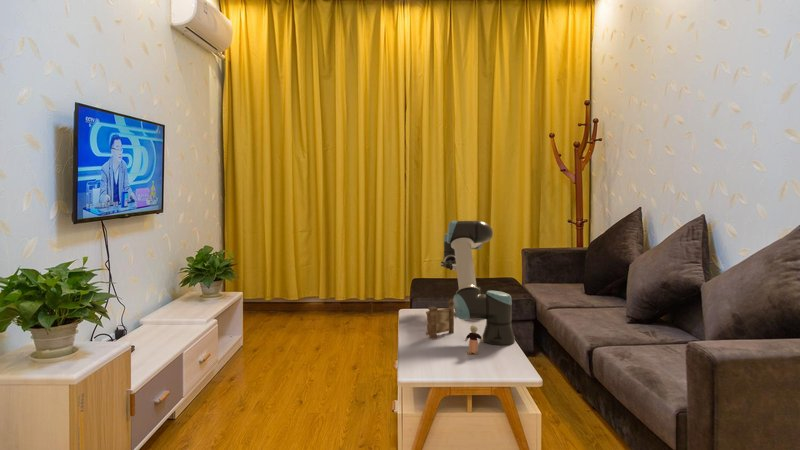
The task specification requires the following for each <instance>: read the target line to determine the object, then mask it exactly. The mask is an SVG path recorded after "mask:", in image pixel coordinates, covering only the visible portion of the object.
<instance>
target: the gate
mask: <svg viewBox="0 0 800 450" xmlns="http://www.w3.org/2000/svg"><path fill="white" fill-rule="evenodd" d="M449 311H450V308H449V307H446V308H445V307H444V308H439V309H438V310H437V311H436V335H437V334H440V333H446V332H449V331H450V329H449ZM425 314H426V332H425V335H426V336H429V310H428V311H427V310H426V311H425Z"/></svg>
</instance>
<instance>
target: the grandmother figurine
mask: <svg viewBox="0 0 800 450" xmlns="http://www.w3.org/2000/svg"><path fill="white" fill-rule="evenodd" d="M469 329H470V332H469V333H468V334H467V335H466V337H465V340H464V341H465V342H467V341H468V340H469V341H468V351H467V355H472V354H473V355H478V347H479V343H478V342H479V341H480V342H481V343H482V342H484V341H483V340H482V336H481V335H480V334H479V333H477V332H478V329H479V328H478V327H477V325H475V324H472V325H470V327H469ZM478 340H479V341H478Z"/></svg>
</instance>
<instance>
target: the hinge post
mask: <svg viewBox="0 0 800 450" xmlns="http://www.w3.org/2000/svg"><path fill="white" fill-rule="evenodd" d="M447 303H448V308H450V311H449V329H450V331H448V334H450V335H453V334H454V333H455V326H454V325H455V309H454V302H453V299H451V298H450V299H449V300H448V301H447Z"/></svg>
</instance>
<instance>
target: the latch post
mask: <svg viewBox="0 0 800 450" xmlns="http://www.w3.org/2000/svg"><path fill="white" fill-rule="evenodd" d="M427 309H428V311H429V335H428V338H429V339H430V340H436V339H437V334H436V311H437V310H438V307H436V306H428V308H427Z"/></svg>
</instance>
